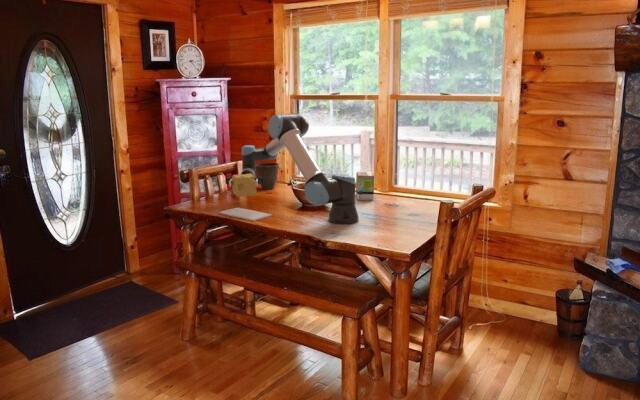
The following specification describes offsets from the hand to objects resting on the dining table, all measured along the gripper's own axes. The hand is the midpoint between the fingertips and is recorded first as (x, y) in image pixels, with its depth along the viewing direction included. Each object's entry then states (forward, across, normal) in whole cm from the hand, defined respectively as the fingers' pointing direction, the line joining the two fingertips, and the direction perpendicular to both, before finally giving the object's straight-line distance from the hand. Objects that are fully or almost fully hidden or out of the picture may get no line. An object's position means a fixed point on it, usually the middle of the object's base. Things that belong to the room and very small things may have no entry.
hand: (243, 183), depth 267 cm
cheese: (-2, 0, -6) cm, 7 cm away
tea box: (-40, -68, -18) cm, 81 cm away
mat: (-3, 0, -17) cm, 18 cm away
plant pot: (-70, -8, -18) cm, 73 cm away
